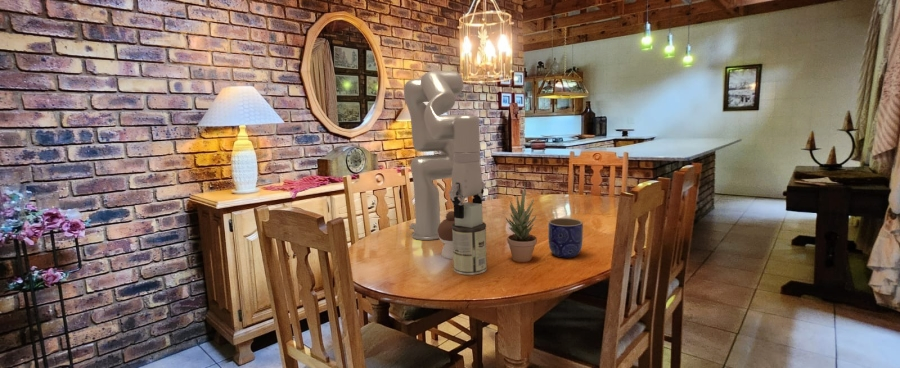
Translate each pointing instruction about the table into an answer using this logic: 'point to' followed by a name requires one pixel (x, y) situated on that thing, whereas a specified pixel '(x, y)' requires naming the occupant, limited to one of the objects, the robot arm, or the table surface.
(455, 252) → the coffee can
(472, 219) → the sage block
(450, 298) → the table surface
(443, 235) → the figurine
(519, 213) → the potted plant
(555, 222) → the planter
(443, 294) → the table surface
